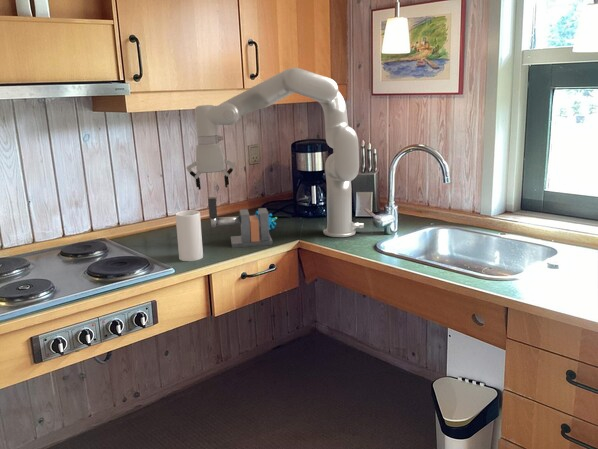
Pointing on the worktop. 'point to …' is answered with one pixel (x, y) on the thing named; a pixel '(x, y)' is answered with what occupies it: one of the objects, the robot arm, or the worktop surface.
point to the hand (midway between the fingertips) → (213, 187)
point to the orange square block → (254, 228)
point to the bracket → (245, 230)
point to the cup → (189, 235)
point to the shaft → (222, 220)
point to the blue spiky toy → (271, 220)
